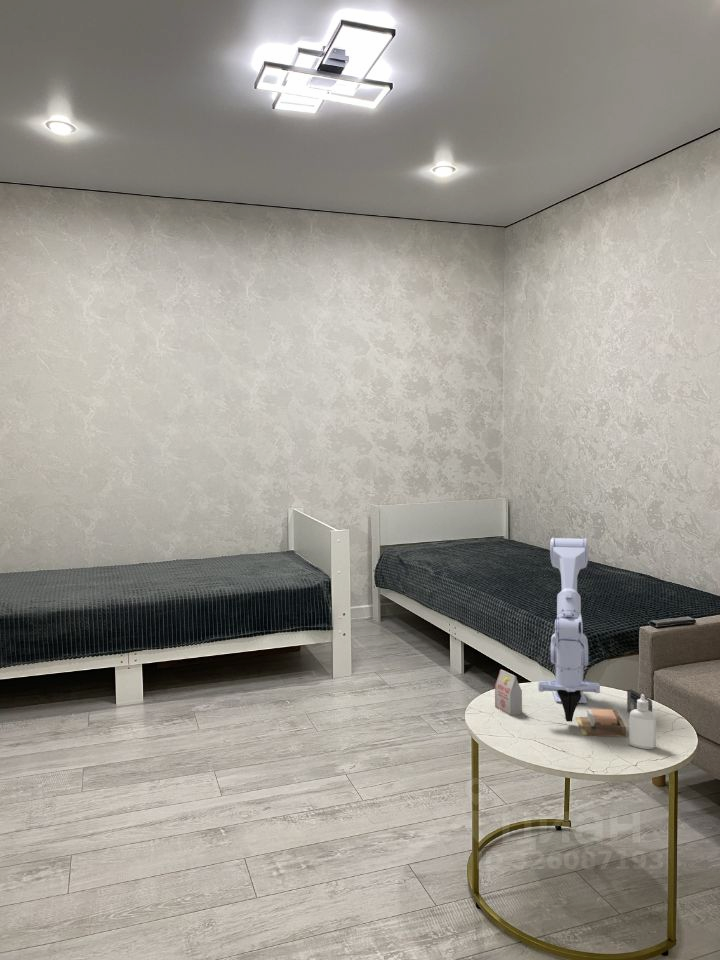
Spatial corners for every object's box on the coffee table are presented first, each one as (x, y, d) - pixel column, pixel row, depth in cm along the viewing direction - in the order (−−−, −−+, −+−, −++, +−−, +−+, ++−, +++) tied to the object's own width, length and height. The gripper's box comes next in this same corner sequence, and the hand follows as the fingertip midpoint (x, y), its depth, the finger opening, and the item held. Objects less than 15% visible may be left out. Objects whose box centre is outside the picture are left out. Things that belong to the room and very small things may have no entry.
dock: (575, 717, 189) (575, 709, 189) (616, 718, 188) (616, 710, 188) (582, 735, 178) (582, 726, 178) (626, 736, 177) (626, 727, 177)
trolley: (587, 720, 187) (587, 708, 186) (613, 721, 186) (613, 709, 185) (591, 731, 180) (591, 718, 180) (619, 732, 179) (619, 719, 179)
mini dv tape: (652, 723, 185) (652, 699, 184) (646, 724, 184) (646, 700, 184) (632, 711, 192) (632, 689, 192) (627, 712, 192) (627, 689, 192)
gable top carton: (506, 704, 199) (506, 668, 198) (522, 713, 193) (521, 675, 192) (495, 707, 197) (494, 670, 197) (510, 715, 191) (509, 677, 191)
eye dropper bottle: (646, 752, 168) (647, 700, 167) (626, 744, 173) (626, 693, 172) (659, 747, 170) (659, 696, 170) (638, 739, 175) (638, 689, 174)
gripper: (540, 670, 180) (540, 725, 181) (602, 671, 178) (602, 727, 179) (537, 661, 187) (537, 714, 188) (596, 662, 185) (596, 716, 186)
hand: (568, 720), depth 184 cm, fingers closed
